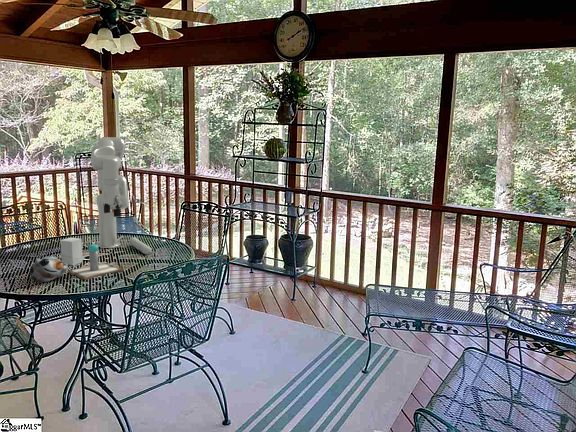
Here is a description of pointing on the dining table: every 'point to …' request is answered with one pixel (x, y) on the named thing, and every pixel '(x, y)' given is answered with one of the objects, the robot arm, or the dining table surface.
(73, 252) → the supplement box
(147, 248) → the tube
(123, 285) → the dining table surface
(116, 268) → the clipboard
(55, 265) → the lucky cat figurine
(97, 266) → the marker
